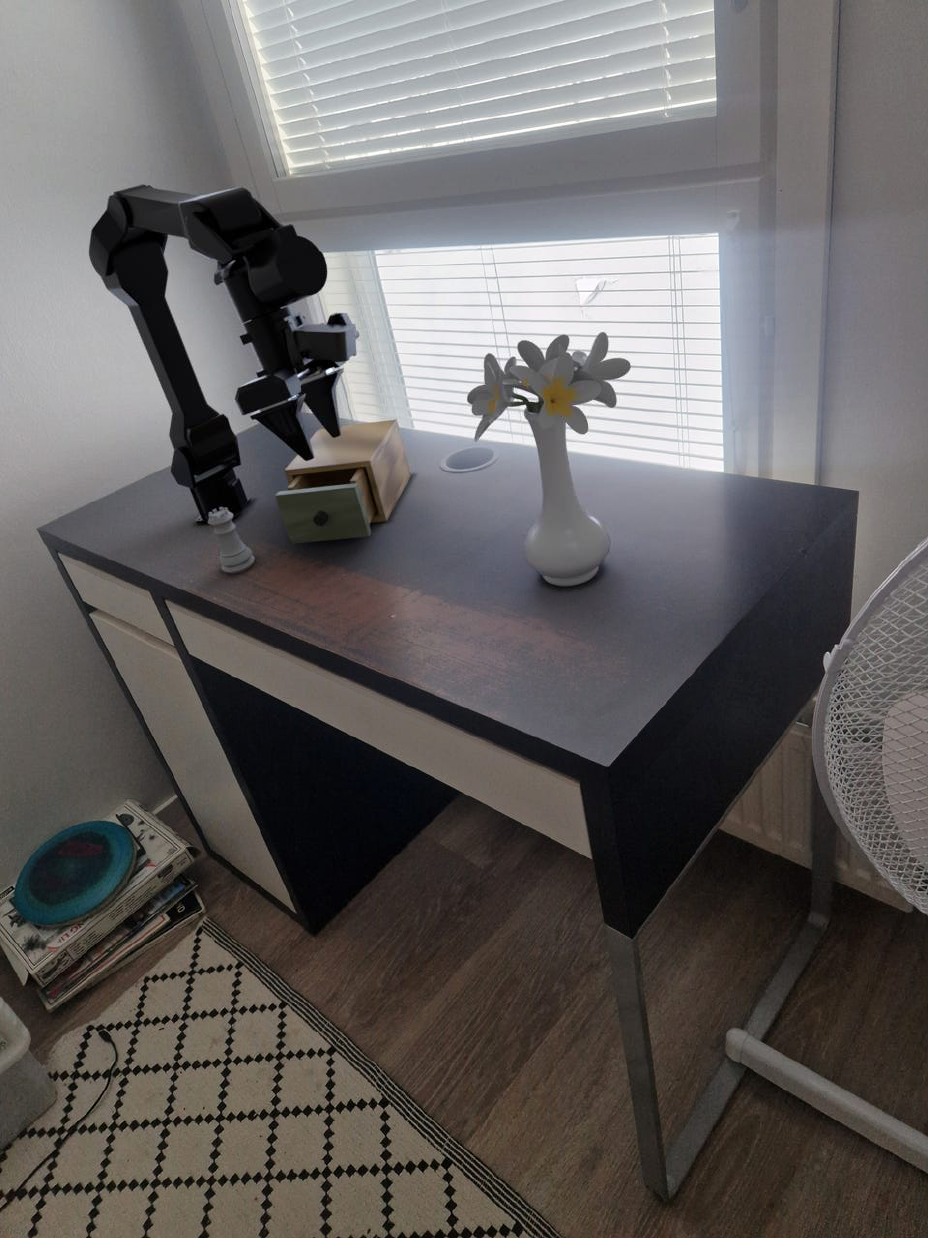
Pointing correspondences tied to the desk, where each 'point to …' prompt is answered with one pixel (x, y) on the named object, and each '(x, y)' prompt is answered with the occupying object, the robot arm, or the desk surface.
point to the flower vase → (555, 445)
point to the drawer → (328, 505)
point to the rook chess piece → (230, 543)
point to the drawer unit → (362, 459)
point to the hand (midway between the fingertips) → (324, 447)
